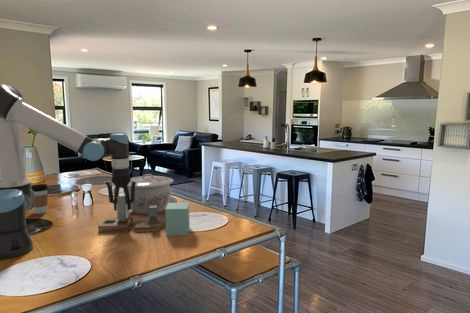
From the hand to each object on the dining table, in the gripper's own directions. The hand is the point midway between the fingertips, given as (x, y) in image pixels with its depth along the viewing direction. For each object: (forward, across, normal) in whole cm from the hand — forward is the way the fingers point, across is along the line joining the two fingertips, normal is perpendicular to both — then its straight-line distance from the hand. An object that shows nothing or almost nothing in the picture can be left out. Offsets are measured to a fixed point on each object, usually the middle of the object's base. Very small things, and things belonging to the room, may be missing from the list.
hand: (122, 216), depth 156 cm
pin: (+2, 0, 0) cm, 2 cm away
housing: (+5, -26, +6) cm, 27 cm away
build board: (+5, +3, 0) cm, 6 cm away
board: (+5, -12, 0) cm, 13 cm away
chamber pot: (+6, -7, -26) cm, 27 cm away
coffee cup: (+5, +50, -27) cm, 57 cm away
